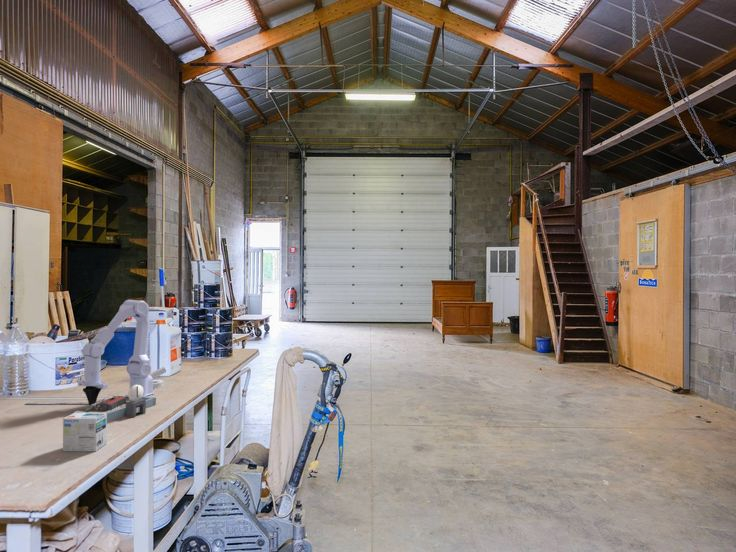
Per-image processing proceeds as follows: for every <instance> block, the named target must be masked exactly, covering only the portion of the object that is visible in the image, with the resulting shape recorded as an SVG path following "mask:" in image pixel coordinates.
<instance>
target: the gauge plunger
mask: <svg viewBox="0 0 736 552" xmlns="http://www.w3.org/2000/svg"><path fill="white" fill-rule="evenodd" d="M119 407H120V408H122V407H126V403H125V404H123V405H121V406H119ZM138 412H140V407H138V406H136V414H139V413H138Z"/></svg>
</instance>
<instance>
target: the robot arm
mask: <svg viewBox="0 0 736 552" xmlns="http://www.w3.org/2000/svg"><path fill="white" fill-rule="evenodd" d="M149 309H150V305H149V304H148V303H147V302H146V301H144V300H135V299H127V300H124V302H123V303H122V304H121V305H120V306H119V309H118V312H117V313H116V314H115V316H114V317H113V318H112V319H111V321H110V322H109V323H108V324H107V326H106V327H102V328H101V329H98V330H97V333H96V335H95V336H94V337H93V338H91V340H90V342H89V343H85V345H84V346H83V348H82V350H81V353H82V355H83V358H84V380H83V379H82V380H77V386H78V387H81V386H82V387H84V388H82V391H83V393H84V395H85V396H86V399H87V402H88V405H89V406H91V405H92V404H95V403H97V400H98V396H99V394H100V393H101V390H106V389H108V383H106V382H103V381H101V373H102V372H101V369H102V368H101V364H102V357H101V356H102V355H103V354H104V353H105V348H106V347H107V345H108V344H109V342H111V340H112V339H113V338H114V337H115V331H116V330H117V329H118V328H119V326H121V325H122V323H124V321H125V320H126V319H127V318H133V319H134V320H135V321H136V326H135V333H134V334H135V335H134V343H133V353H132V354H133V355H132V356H131V357H129V359H128V363H127V365H126V367H125V369H126V372H127V374H128V377H129V389H130V388H131V387H132V386H133V385H141V386H142V387H143V390H144V392H143V396H147V397H149V396H152V395H154V394H155V392H154V389H153V380H154V379H153V378H152V377H151V376H150V375H149V374H150V373H152V372H151V371H152V366H151V359H150V358H149V356H148V355H147V353H148V345H149V344H148V343H149V336H150V335H149V334H150V325H151V314H150V312H149ZM125 397H126V398H129V397H128V394H127V395H125Z"/></svg>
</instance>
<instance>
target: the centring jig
mask: <svg viewBox="0 0 736 552" xmlns="http://www.w3.org/2000/svg"><path fill="white" fill-rule="evenodd" d="M143 392H144V390H143V387H142V386H141V385H133V386H132V387H131V388H130V387H129V390H128V394H127V395H128V397H127V398H128V401H126V403H125V405H126V407H122V408H119V407H118V408H117V409H116V408H115V409H113V410H110V411H107V412H106V413H107V422H110V421H113V420H116V419H119V418H122V417H128V418H137V414H142V415H144V414H146V411H147V410H146V409H147V408H151V407H153V405H154V406H156V405H157V397H152V396H143ZM136 406H138V407H140V412H138V413H136ZM75 412H76V413H90V411H86V412H83V411H82V410H76V411H74V412H73V413H75Z"/></svg>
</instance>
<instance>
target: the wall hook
mask: <svg viewBox="0 0 736 552" xmlns="http://www.w3.org/2000/svg"><path fill="white" fill-rule="evenodd" d="M165 373H167V370H166V368H165V366H162V367H160V368H158V369H156V370H154V371H153V372H150V374H149V375H150V376H151V377H152V378H153V388H157V389H159V388H158V387H161V388H163V387H164V380H162V379H156V378H158V377H159V376H162V375H163V374H165ZM162 386H163V387H162Z"/></svg>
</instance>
